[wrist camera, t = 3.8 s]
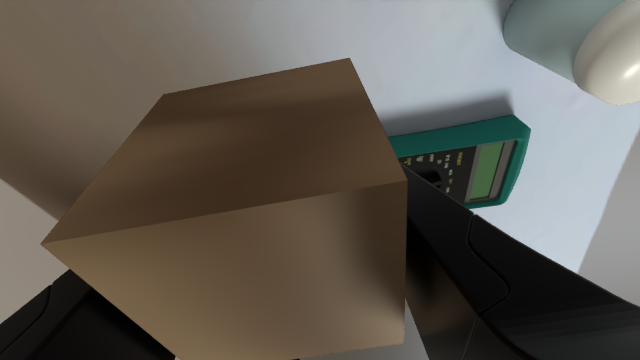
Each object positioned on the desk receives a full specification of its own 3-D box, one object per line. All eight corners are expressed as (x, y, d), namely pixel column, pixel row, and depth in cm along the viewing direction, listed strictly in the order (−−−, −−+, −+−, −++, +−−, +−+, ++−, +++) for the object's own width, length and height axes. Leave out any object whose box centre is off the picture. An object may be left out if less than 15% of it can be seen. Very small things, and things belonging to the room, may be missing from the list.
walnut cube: (230, 221, 11) (197, 373, 7) (163, 94, 8) (39, 244, 4) (364, 197, 11) (403, 343, 7) (349, 57, 8) (407, 180, 4)
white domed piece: (495, 60, 19) (578, 112, 13) (509, -18, 16) (621, 6, 11) (564, 47, 19) (679, 94, 13) (590, -35, 16) (749, -20, 10)
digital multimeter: (313, 142, 22) (315, 166, 20) (516, 109, 22) (542, 130, 19) (326, 210, 27) (329, 236, 25) (493, 185, 26) (512, 209, 24)
